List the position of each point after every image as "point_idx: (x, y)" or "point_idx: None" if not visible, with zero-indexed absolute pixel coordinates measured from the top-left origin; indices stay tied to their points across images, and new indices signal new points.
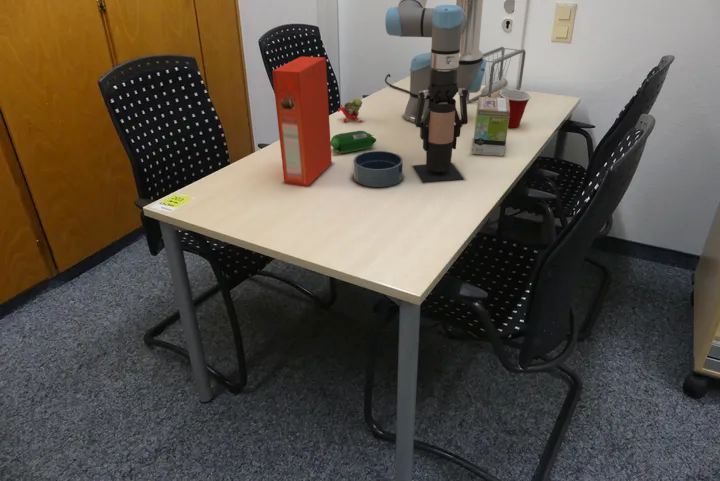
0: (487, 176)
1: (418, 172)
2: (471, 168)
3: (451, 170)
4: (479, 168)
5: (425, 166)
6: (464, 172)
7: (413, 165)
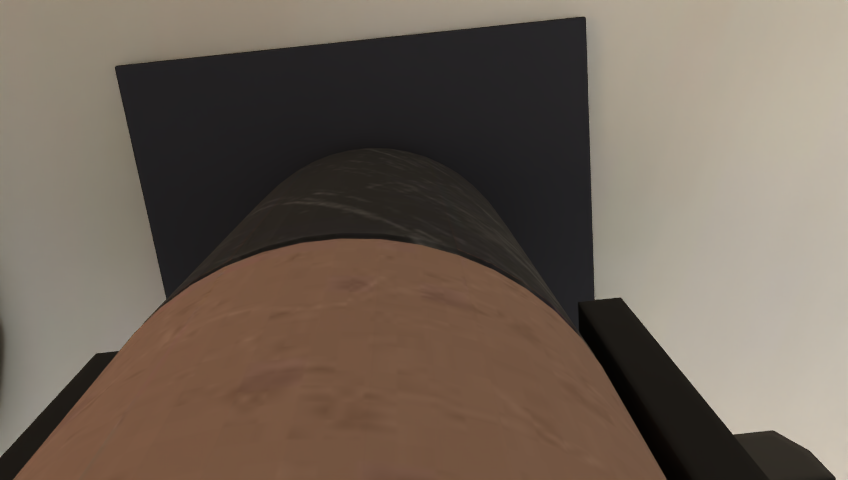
0: (840, 368)
1: (167, 271)
2: (761, 170)
3: (529, 244)
4: (844, 177)
5: (257, 112)
6: (655, 265)
7: (115, 66)
